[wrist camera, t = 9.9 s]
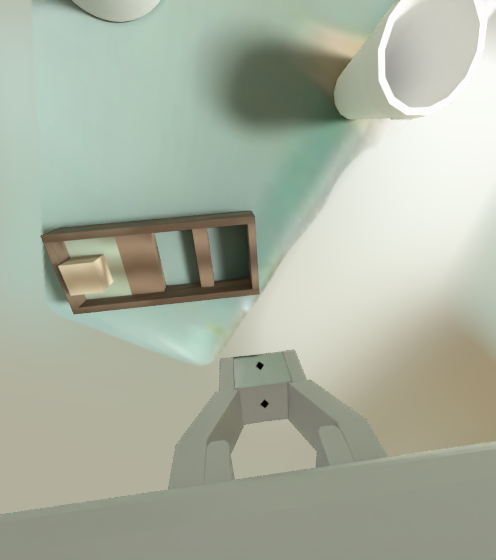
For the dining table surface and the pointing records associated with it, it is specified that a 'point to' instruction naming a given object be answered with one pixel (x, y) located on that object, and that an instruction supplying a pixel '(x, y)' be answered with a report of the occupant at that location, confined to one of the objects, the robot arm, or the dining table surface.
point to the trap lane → (149, 261)
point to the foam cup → (413, 60)
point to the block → (86, 274)
